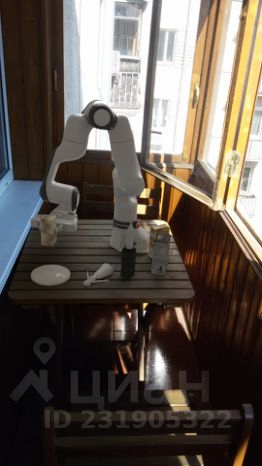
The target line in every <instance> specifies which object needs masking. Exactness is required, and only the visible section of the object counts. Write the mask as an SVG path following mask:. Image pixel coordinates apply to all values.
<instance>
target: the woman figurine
mask: <svg viewBox="0 0 262 466" xmlns="http://www.w3.org/2000/svg"><path fill="white" fill-rule="evenodd" d="M114 267H115V266H114V264H112V265H111V264H110V263H102V265H101V266H100V267H99V268H98V269H97V270H96V271H95V272H94V273H93V275H92V274H91V275H90V276H89V271H86V275H87V276H86V277H87V279H86V280H84V281H83V282H82V283H83V286H84V287H90V286H91V285H92V284H95V283H101V282H109V279H107V278H106V277H108V276H110V275H113V274H114V270H113V269H114ZM103 278H106V279H104V280H100V279H103Z"/></svg>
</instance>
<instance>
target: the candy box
mask: <svg viewBox="0 0 262 466" xmlns="http://www.w3.org/2000/svg"><path fill="white" fill-rule="evenodd" d="M170 230H171V226H170V225H169V224H166V223H162V224H158V225H154V226H153V225H152V226H150V231H149V236H150V240H149V252H148V253H147V254H148V255H147V256H148V258H151V259H152V257H153V247H154V239H155V237H156V234H157V233H163V234H170V232H171V231H170Z"/></svg>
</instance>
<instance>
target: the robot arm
mask: <svg viewBox="0 0 262 466" xmlns="http://www.w3.org/2000/svg"><path fill="white" fill-rule="evenodd" d="M93 129H97V130H101V131H107V133H108V139H109V145H110V150H111V151H110V152H111V157H112V158H111V159H112V161H113V164H114V168H113V170H112V173H111V177H112V182H113V183H112V185H113V195H114V209H113V210H114V212H113V214H114V215H113V218H112V232H111V237H110V240H109V242H108V243H109V246H110V247H112V248H113V249H115V250H117V252H120V253H122V248H124V246H126V239H127V229H128V227H129V225H130V222H132V226H133V228H134V240H133V246H134V247H135V248H136V254H148V252H149V240H150V232H148V231H147V230H146V229H144V228H143V227H142V226H141V219H140V218H137V217H138V216H137V215H138V199H137V197H138V196H139V195H142V193H143V192H144V190H145V187H146V183H145V181H144V178H143V174H142V170H141V166H140V163H139V160H138V156H137V151H136V144H135V138H134V136H135V135H134V132H133V131H134V130H133V126H132V123H131V120H130V118H129V115H127V114H124V113H121V112H120V113H115V112H114V110H113V109H112V108H111V107H110V106H109V104H107V103H106V102H105V101H103V100H100V99H93V100H91V101H90V102H88V104H87V105H86V106H85V107H84V108H83V110H82V111H81V112H80V113H73V114H70V115H69V116H68V117H67V120H66V123H65V126H64V130H63V135H62V136H63V137H62V141H61V143H60V145H59V146H57V147H55V148H54V150H53V151H52V153H51V155H50V158H49V162H48V164H47V167H46V171H45V174H44V177H43V180H42V182H41V185H40V187H39V192H38V194H39V197H40V199H41V200H42V201H43V202H46V203H53V204H57V206H56V208H54V209H53V210H52V211H51V212H50V213H49V215H54V216H56V225H57V227H55V228H54V232H56V233H59V232H70V233H73V232H76V231H77V228H78V214H77V213H76V212H77V209H78V207H79V205H80V201H81V194H80V191H79V189H78V187H77V186H73V185H69V184H64V183H60V182H57V181H55V178H56V174H57V172H58V169H59V166H60V164H61V163H64V162H71V161H76V160H77V161H78V160H79V159H80V158H83V157H84V156H85V155H86V152H87V148H88V144H89V138H90V134H91V132H92V130H93ZM44 215H45V214H36V215H33V217H31V219H30V226H31V227H32V228H38V229H39V231H40V232H41V218H42V217H43V216H44Z"/></svg>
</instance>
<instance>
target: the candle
mask: <svg viewBox="0 0 262 466" xmlns="http://www.w3.org/2000/svg"><path fill="white" fill-rule="evenodd" d="M133 240H134V228H133V226H132V222H130V225H129V227H128V229H127V239H126V246H124V248H122V252H121V261H120V273H119V277H120V278H123V279H126V280H131V279H132V278H133V277H135V271H136V260H137V253H136V248H135V247H134V246H133Z"/></svg>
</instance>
